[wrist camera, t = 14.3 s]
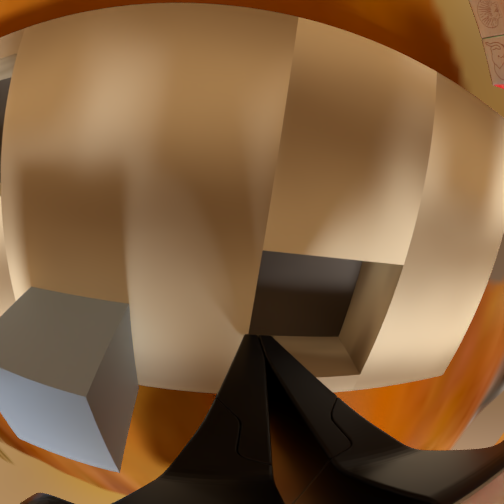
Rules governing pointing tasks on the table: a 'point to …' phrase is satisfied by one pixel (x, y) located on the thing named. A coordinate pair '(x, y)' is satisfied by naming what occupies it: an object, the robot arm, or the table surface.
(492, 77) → the stack of blocks
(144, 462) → the table surface
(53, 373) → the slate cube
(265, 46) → the board
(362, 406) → the table surface
